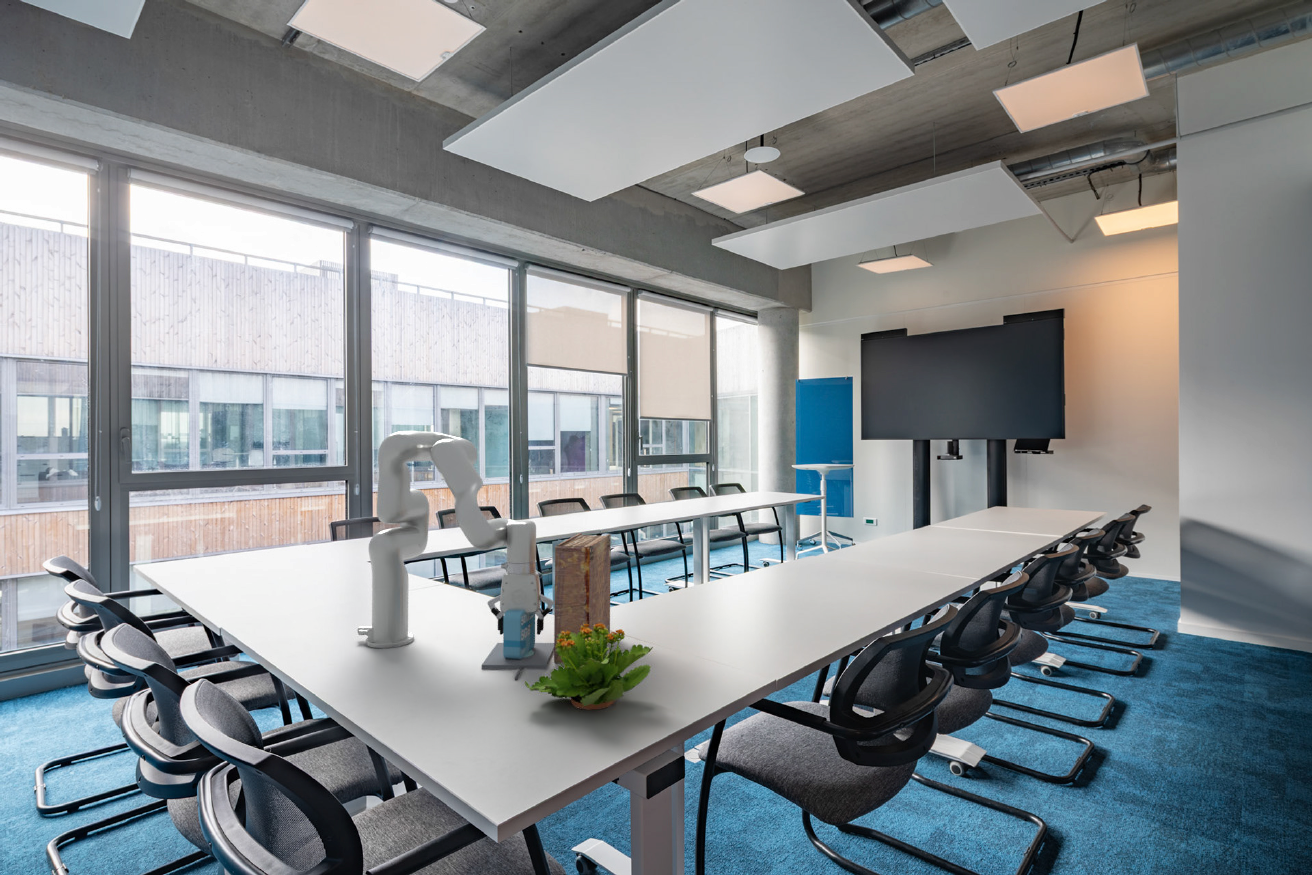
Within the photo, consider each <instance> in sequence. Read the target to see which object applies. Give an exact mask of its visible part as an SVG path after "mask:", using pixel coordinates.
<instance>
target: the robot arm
mask: <svg viewBox="0 0 1312 875" xmlns="http://www.w3.org/2000/svg"><path fill="white" fill-rule="evenodd" d="M377 452H378V453H377V463H378V482H377V494H376V496H377V498H376V516H377V519H378V521H379V522H381V523H383V524H386V525H399V526H398V527H392V528H387V529H384V530H381V531H378V532H377V533H375V534H373V536H372V538H371V539H370V540H369V544H368V555H369V560H370V566H371V625H370V626H358V628H357V634H358V635H359V636H367V637H366V638H365V645H366V646H367V647H370V648H376V649H389V648H397V647H401V646H405V645H407V644H410V643H412V642H413V641H414V640H415V635H414V634H413V633H412V632H409V574H408V570H407V568H406V564H405V562H404V561H405V560H410V559H414V558H417V557H418V556H421V555H423V553H424V552H425V550H426V548H427V544H428V539H429V525H430V524H429V523H430V503H429V499H428V497H427V495H426V494H425V493H424V491H422V490H419V489H417V488H411V482H412V475H411V471H410V468H409V466H408V464H407V463H409V462H432V463H433V465H434V467H436V468H435V469H436V470H437V471H438V473H439V474H440V476H441V477H442V479H443V481H444V483H445V484H446V486H447V487H448V489H449V490H450V492H451V494H452V496H453V497H454V511H455V518H456V519H455V520H456V522H457V524H458V525H459V528H460V530H461V531H462V533H463V534H464V536H465V537H466V540H467V541H468V542H469V543H470V544H471V545H472V546H473V547H474V548H475V549H477V550H478V551H489V550H493V549H496V548H501V547H505V546H506V561H505V562H504V563H503V562H502V563H501V565H500V568H501V569H504V570H505V572H504V573H503V575H502V580H501V588H500V594H499V595H497V596H496V597H493V598H492V599H490V600H488V601H487V602H486V603H487V605H488V607H489V609H490V612H491V613H492V614H493V615H494V616H495V618H496V620H497V630H498V631H499V635H501V636H502V635H503V626H504V614H505V612H506V611H507V610H525V613H535V616H537V620H536V635H538V636H539V635H541V633H542V631H544V627H545V626H544V622H545V621H544V620H545V619H544V618H545V617H546V616H548V614H549V613H550V612H551V611H552V608H553V606H554V605H555V600H553V599H551V598H549V597H547V596H545V595H544V594H542V593H541V592H542V591H541V581H540V575H539V572H538V571H537V566H536V565H537V525H536V523H535V522H534V521H533V520H524V519H523V520H522V519H521V520H515V519H510V518H505V517H497V518H493V519H487V518H486V517H485V515H484V514H483V512H482V510H481V509H480V506H479V504H478V493H479V491H481V489H482V487H483V486H484V480H483V479H482V478H481V476H480V474H479V473H478V472H477V470H476V468H475V467H474V465H475V464H476V462H477V460H478V450H477V448H476V446H475V444H474V443H473V442H471V440H468V439H466V438H462V437H457V436H454V435H449V434H445V433H441V432H436V431H423V430H421V431H419V430H403V431H397V432H394V433H391V434H389V435H388V436H386V437H385V438H384V439H383V440H382V442H381V443H380V444H379V447H378V451H377ZM498 602H499V608H497V606H496V603H498ZM542 602H543V603H544V604H546V605H547V606H546V608H545V609H544V610H543V609H542V608H541V606H542Z"/></svg>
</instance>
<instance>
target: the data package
mask: <svg viewBox="0 0 1312 875" xmlns="http://www.w3.org/2000/svg"><path fill="white" fill-rule="evenodd" d="M502 635H503V636H502V637H503V638H502V639H503V640H502V643H503V656H504V658H510V659H522V658H523V657H524V656H525V655H526V654H527V653H528V652H529V651H530V650H531V649H533V647H534V645H535V643H536V614H535V613H525V610H507V611H506V612H505V614H504V626H503V634H502Z"/></svg>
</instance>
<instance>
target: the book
mask: <svg viewBox="0 0 1312 875" xmlns="http://www.w3.org/2000/svg"><path fill="white" fill-rule="evenodd" d="M611 536H612V535H611V533H608V534H606V535H591V534H589V535H588V534H587V535H586V534H583V535H582V532H579V533H578V534H577V533H576V534H575V535H573V536H572V537H569V538H568V539H566V540H565V541H562V542H560V543H559V544H556V545H555V546H554V547H555V548H554V616H553V618H554V620H553V621H554V625H553V626H554V629H553V633H554V634H553V643H554V651H553V663H554V664H560V663H561V664H563V661H562V660H561V659H560V658H561V656H559V654H557V652H556V649H557V648H556V644H557V642H556V639H557V638H559V637H558V636H557V634H561V632H562V631H564V632H566V631H570V632H572V633H575V634H576V635H577V633H578V632H580V630H579V629H581V625H582V626H583V627H584V625H583V624H589V626H588V627H589V629H591V630H594V627H593V626H594V625H595V624H597V623H601V624H604V625H605V628H606V629H608V632H609V634H611V558H612V557H611V552H612V551H611V550H612V549H611V548H612V547H611V545H612V544H611V538H612V537H611ZM606 635H607V634H606ZM559 662H560V663H559Z"/></svg>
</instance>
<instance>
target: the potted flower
mask: <svg viewBox="0 0 1312 875" xmlns="http://www.w3.org/2000/svg"><path fill="white" fill-rule="evenodd" d="M583 625H584V627H583V626H582V625H581V629H579V630H580V632H578V633H577V635H576V634H575V633H572V632H570V631H566V632H564V631H562V632H561V634H557V636H558V637H559V638H557V639H556V642H557V644H556V648H557V649H556V652H557V654H559V656H561V658H560V659H561V660H562V661H563V663H560V662H559V663H558V664H560V665H558V667H557V668H553V669H552V670H551V672H550V677H549V676H548V675H546V676H545V675H541V676H540V677H539V679H538V680H537V681H535V682H534V683H533V684H532V685H531V686H530V685H529V683H528V682H527V680H525V681H524V685H525V686H526V688H527V689H528V690H530V691H532V692H533V691H538V693H547V694H548V695H550V696H551V697H553V698H558V699H568V698H570V702H571V704H572V705H573V706H574V707H575V708H577V709H582V710H588V711H589V710H601V709H605V708H608V707H609V706H612V705H613V704H614V703H615V701H616V700H618V699H620V698H622V697H623V696H624V693H626V692H628V691H630V690H632V689H634V688H635V687H636V686H638V685H639V684H640V683H642V682H643V680H644V679H646V678H647V676H649V673H650V671H651V668H652V666H651V665H650V664H649V665H648V664H644V665H639V666H638V667H637V666H636V667H634V668H633V669H630V671H628V672H626V673H625V674H624V675H623V676H622V673H623V672H624V671H625V670H627V668H628V667H630V666H632V665H633V664H634V663H635V662H637V661H638V660H639V659H641V658H643V657H644V656H647V655H648V654H649V653H651V651H652V650H653V648H654V646H652V647H650V646H644V647H643V644H637V645H636V644H632V646H631V648H630V650H629V649H628V648H627V649H624V650H623V651H622V649H621V648H620V646H619V644H620V642H622V640H625V637H626V636H625V635H626V633H625V630H623V629H620V628H619V629H616V630H615V631H610V634H609V632H608V629H606V628H605V625H604V624H601V623H597V624H595V625H594V626H593V627H594V630H591V629H589V627H588V626H589V624H583ZM606 634H607V635H606ZM615 643H617V645H616V648H615V649H613V648H614V647H615ZM609 644H610V647H608V645H609Z"/></svg>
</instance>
